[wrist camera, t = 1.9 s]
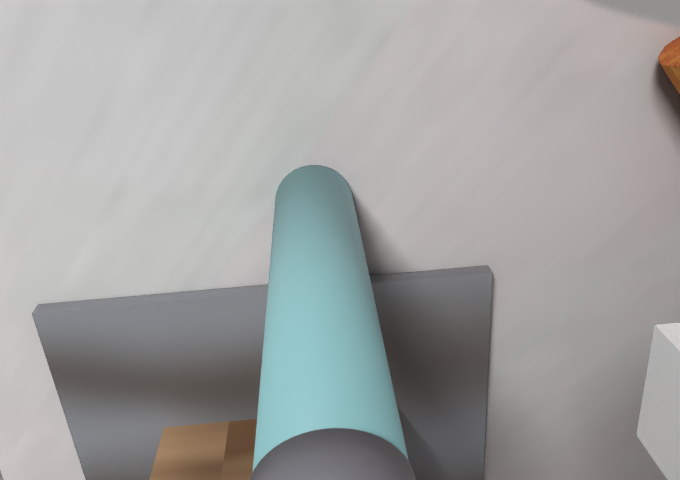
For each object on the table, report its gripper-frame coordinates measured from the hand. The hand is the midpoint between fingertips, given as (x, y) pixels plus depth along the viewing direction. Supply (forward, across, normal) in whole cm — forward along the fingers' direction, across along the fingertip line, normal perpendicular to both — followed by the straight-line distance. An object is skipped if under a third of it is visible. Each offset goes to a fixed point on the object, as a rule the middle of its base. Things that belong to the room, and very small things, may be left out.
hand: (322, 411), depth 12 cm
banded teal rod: (+10, 0, 0) cm, 10 cm away
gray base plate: (+10, -2, -12) cm, 16 cm away
